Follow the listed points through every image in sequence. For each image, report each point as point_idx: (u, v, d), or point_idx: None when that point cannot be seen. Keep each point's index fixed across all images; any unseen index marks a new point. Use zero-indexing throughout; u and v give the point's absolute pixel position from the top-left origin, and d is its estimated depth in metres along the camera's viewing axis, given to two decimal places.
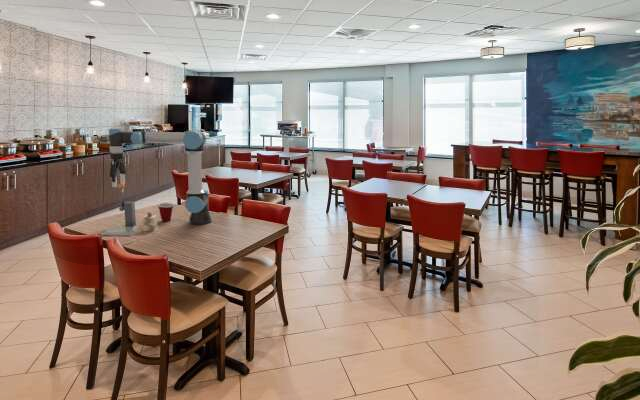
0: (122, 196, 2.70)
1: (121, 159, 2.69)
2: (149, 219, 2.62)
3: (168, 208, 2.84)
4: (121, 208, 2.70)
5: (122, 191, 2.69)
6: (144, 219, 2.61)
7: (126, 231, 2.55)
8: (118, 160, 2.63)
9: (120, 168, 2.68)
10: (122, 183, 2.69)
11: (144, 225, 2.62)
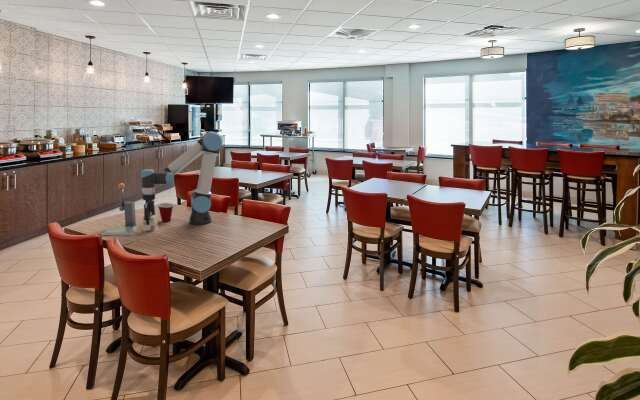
0: (122, 196, 2.70)
1: (152, 200, 2.69)
2: None
3: (168, 208, 2.84)
4: (121, 208, 2.70)
5: (122, 191, 2.69)
6: None
7: (126, 231, 2.55)
8: (150, 201, 2.62)
9: (151, 209, 2.66)
10: (122, 183, 2.69)
11: (144, 225, 2.62)
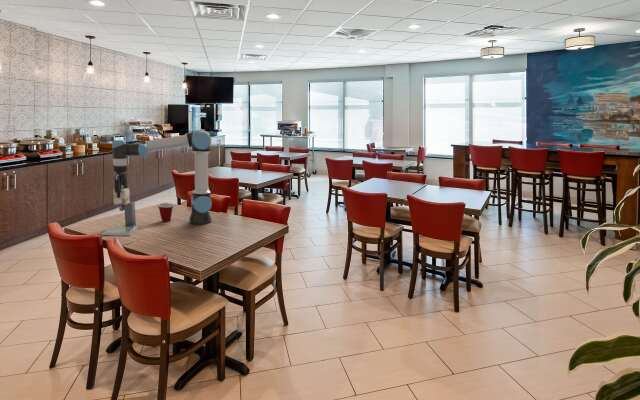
0: None
1: (125, 173, 2.59)
2: None
3: (168, 208, 2.84)
4: (121, 208, 2.70)
5: None
6: None
7: (126, 231, 2.55)
8: (121, 173, 2.52)
9: (122, 182, 2.56)
10: None
11: (115, 198, 2.52)
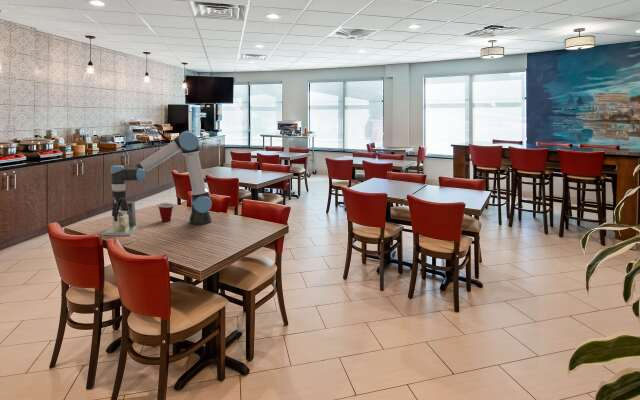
0: None
1: None
2: (119, 218, 2.54)
3: (168, 208, 2.84)
4: (121, 208, 2.70)
5: None
6: None
7: (126, 231, 2.55)
8: (120, 198, 2.54)
9: (122, 205, 2.60)
10: None
11: None
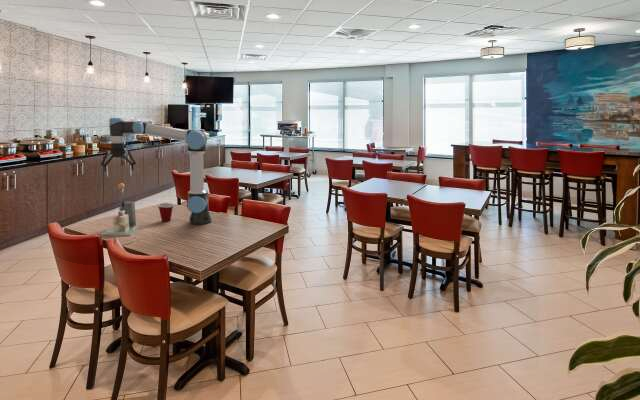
0: (122, 196, 2.70)
1: (128, 150, 2.61)
2: (119, 218, 2.54)
3: (168, 208, 2.84)
4: (121, 208, 2.70)
5: (122, 191, 2.69)
6: (114, 218, 2.54)
7: (126, 231, 2.55)
8: (116, 150, 2.58)
9: None
10: (122, 183, 2.69)
11: (114, 225, 2.54)
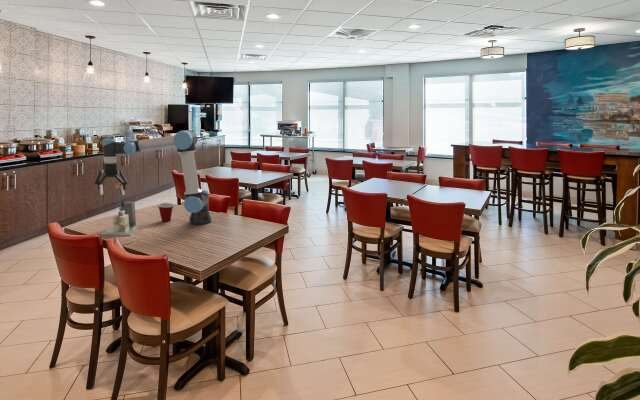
0: (121, 196, 2.70)
1: None
2: (119, 218, 2.54)
3: (168, 208, 2.84)
4: (121, 208, 2.70)
5: (120, 191, 2.69)
6: (114, 218, 2.54)
7: (126, 231, 2.55)
8: (109, 170, 2.65)
9: None
10: (120, 183, 2.69)
11: (114, 225, 2.54)
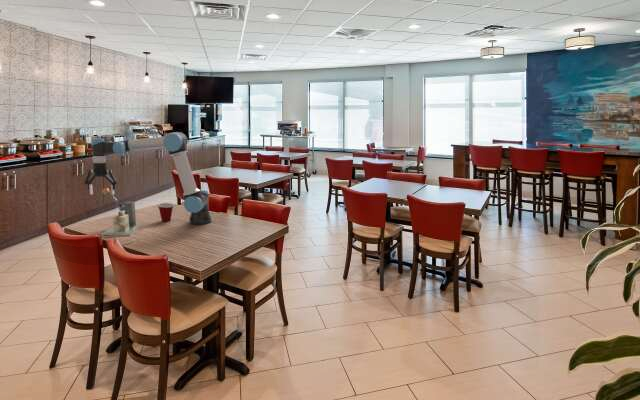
0: (114, 198, 2.69)
1: (109, 170, 2.66)
2: (119, 218, 2.54)
3: (168, 208, 2.84)
4: (121, 208, 2.70)
5: (110, 194, 2.69)
6: (114, 218, 2.54)
7: (126, 231, 2.55)
8: (98, 170, 2.65)
9: None
10: (105, 188, 2.68)
11: (114, 225, 2.54)
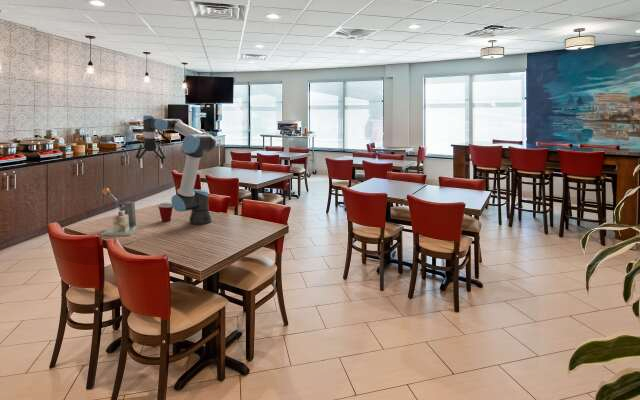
0: (114, 198, 2.69)
1: (158, 145, 2.86)
2: (119, 218, 2.54)
3: (168, 208, 2.84)
4: (121, 208, 2.70)
5: (110, 194, 2.69)
6: (114, 218, 2.54)
7: (126, 231, 2.55)
8: (148, 145, 2.85)
9: None
10: (105, 188, 2.68)
11: (114, 225, 2.54)
